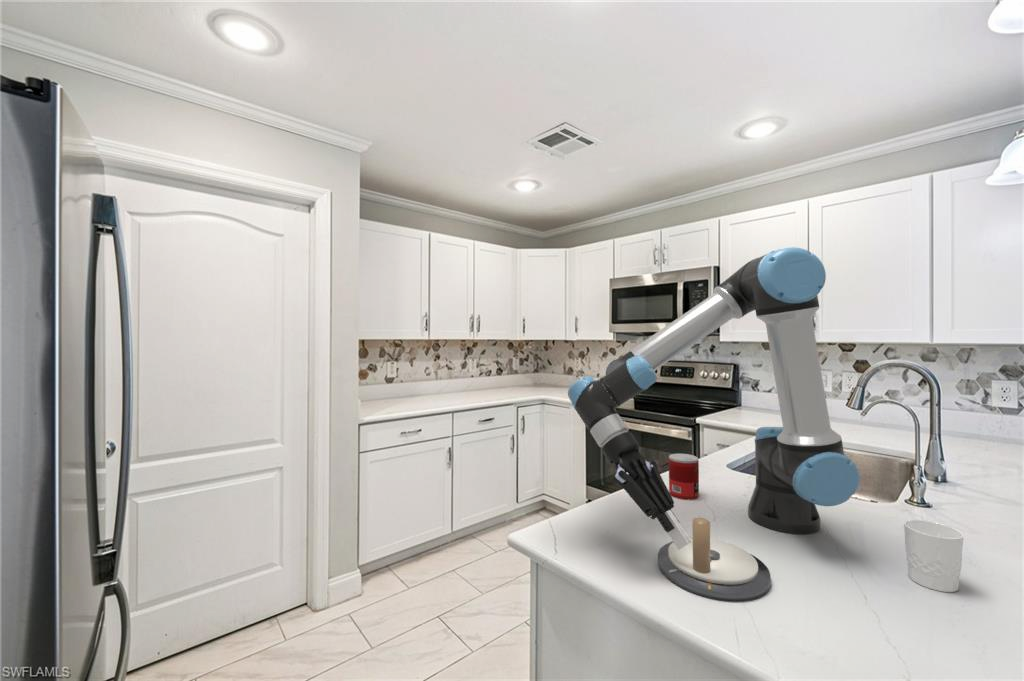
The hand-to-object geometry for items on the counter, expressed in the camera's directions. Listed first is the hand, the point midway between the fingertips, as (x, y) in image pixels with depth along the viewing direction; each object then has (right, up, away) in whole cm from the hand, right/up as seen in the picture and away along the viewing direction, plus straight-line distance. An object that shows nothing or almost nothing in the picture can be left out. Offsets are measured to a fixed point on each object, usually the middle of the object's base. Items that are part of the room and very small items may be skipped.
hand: (685, 545), depth 82 cm
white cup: (+45, -6, -2) cm, 46 cm away
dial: (+6, -5, +3) cm, 9 cm away
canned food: (+17, -6, +43) cm, 47 cm away
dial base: (+6, -6, +3) cm, 10 cm away
